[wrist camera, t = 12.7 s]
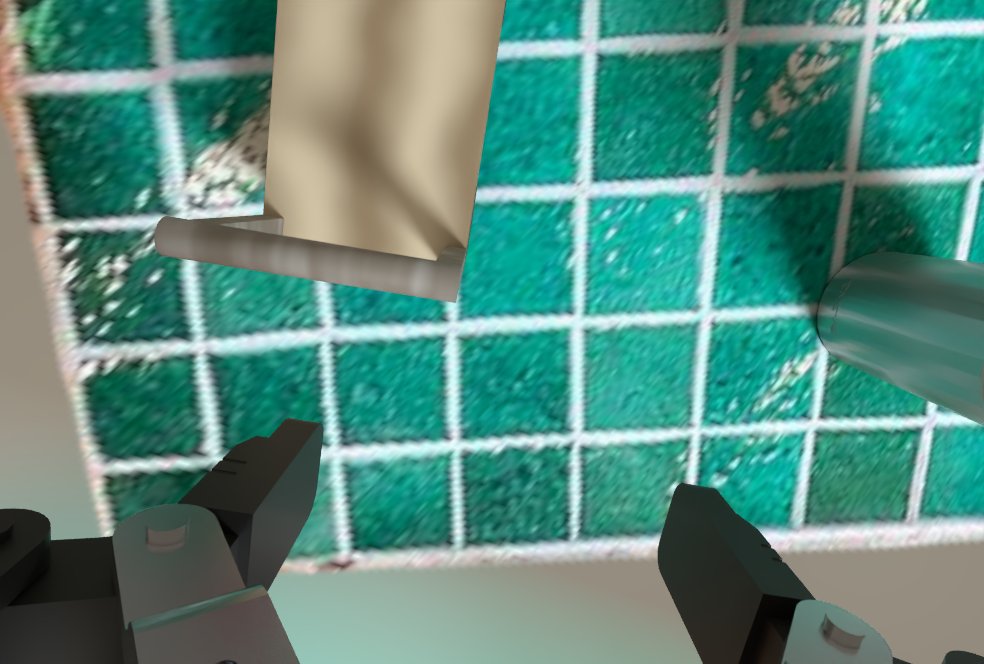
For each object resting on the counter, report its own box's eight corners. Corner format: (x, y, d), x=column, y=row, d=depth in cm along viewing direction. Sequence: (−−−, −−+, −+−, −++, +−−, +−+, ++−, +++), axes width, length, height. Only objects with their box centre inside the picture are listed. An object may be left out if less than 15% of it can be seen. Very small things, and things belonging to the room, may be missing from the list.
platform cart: (513, -46, 35) (549, -303, 17) (466, 258, 40) (455, 306, 22) (330, -82, 35) (168, -392, 17) (304, 231, 39) (154, 257, 21)
